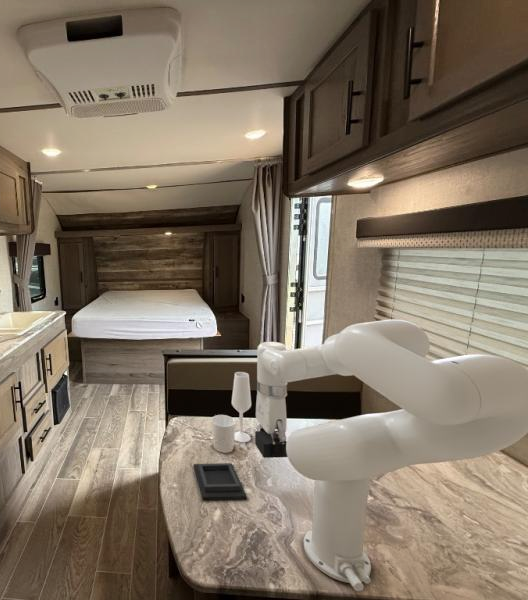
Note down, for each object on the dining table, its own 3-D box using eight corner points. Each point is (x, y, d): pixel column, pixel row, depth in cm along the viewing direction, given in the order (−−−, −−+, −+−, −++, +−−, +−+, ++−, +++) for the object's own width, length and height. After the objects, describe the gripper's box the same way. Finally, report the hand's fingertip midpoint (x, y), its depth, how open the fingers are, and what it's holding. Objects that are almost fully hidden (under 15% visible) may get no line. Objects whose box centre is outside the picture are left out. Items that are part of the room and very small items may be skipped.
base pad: (246, 499, 90) (246, 491, 90) (202, 500, 90) (202, 492, 90) (231, 466, 104) (231, 458, 103) (193, 466, 104) (193, 459, 104)
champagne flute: (245, 431, 123) (246, 370, 119) (253, 441, 116) (255, 377, 113) (228, 432, 122) (228, 371, 119) (235, 442, 116) (236, 378, 112)
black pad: (288, 457, 88) (288, 443, 88) (263, 457, 88) (263, 444, 88) (277, 443, 95) (277, 430, 94) (255, 444, 95) (255, 431, 94)
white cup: (210, 452, 111) (210, 424, 110) (212, 439, 119) (212, 413, 117) (235, 455, 109) (235, 428, 107) (235, 442, 116) (235, 416, 115)
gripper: (247, 376, 98) (247, 432, 100) (270, 402, 81) (269, 468, 83) (272, 375, 97) (271, 431, 100) (301, 401, 80) (299, 468, 83)
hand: (270, 448), depth 91 cm, fingers closed on black pad, 6 cm apart
